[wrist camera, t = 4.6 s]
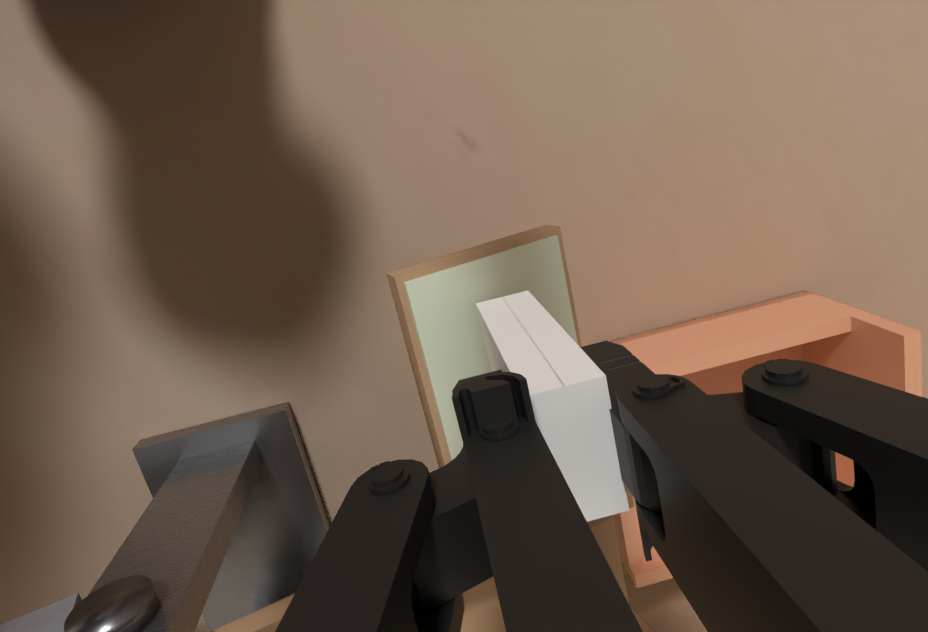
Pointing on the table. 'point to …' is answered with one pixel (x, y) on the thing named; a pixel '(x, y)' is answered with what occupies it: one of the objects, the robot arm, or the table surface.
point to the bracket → (212, 528)
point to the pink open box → (756, 341)
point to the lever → (444, 384)
